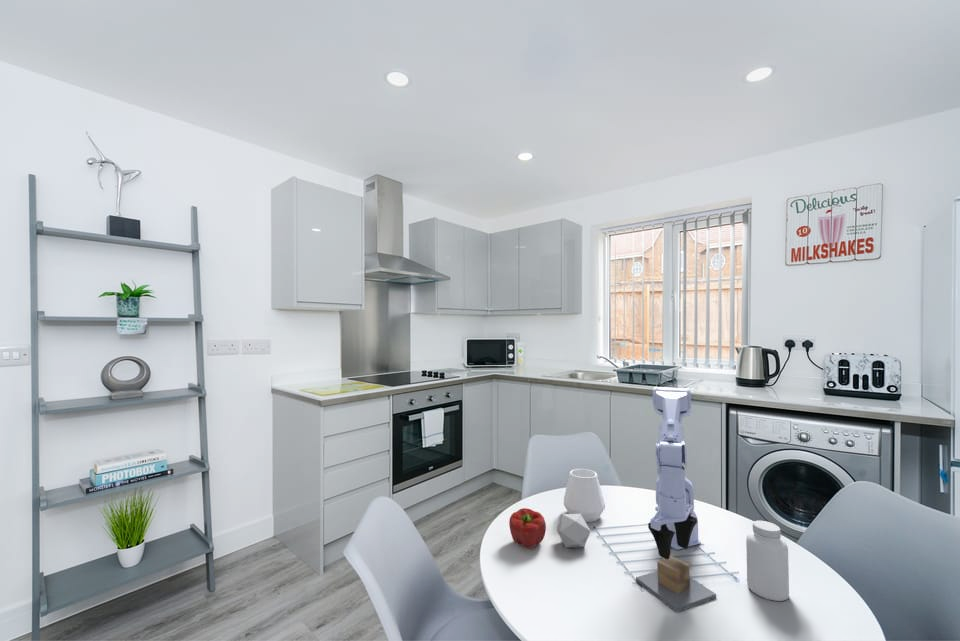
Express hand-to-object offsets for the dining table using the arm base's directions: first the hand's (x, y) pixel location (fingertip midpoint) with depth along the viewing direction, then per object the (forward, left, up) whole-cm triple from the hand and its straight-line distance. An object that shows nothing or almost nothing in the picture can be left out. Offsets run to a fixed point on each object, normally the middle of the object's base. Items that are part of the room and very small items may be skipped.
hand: (673, 552), depth 95 cm
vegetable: (+22, -31, -9) cm, 39 cm away
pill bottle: (-19, +9, -9) cm, 23 cm away
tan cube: (0, 0, -8) cm, 8 cm away
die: (+10, -26, -9) cm, 29 cm away
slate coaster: (0, 0, -8) cm, 8 cm away
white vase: (-4, -40, -9) cm, 41 cm away
